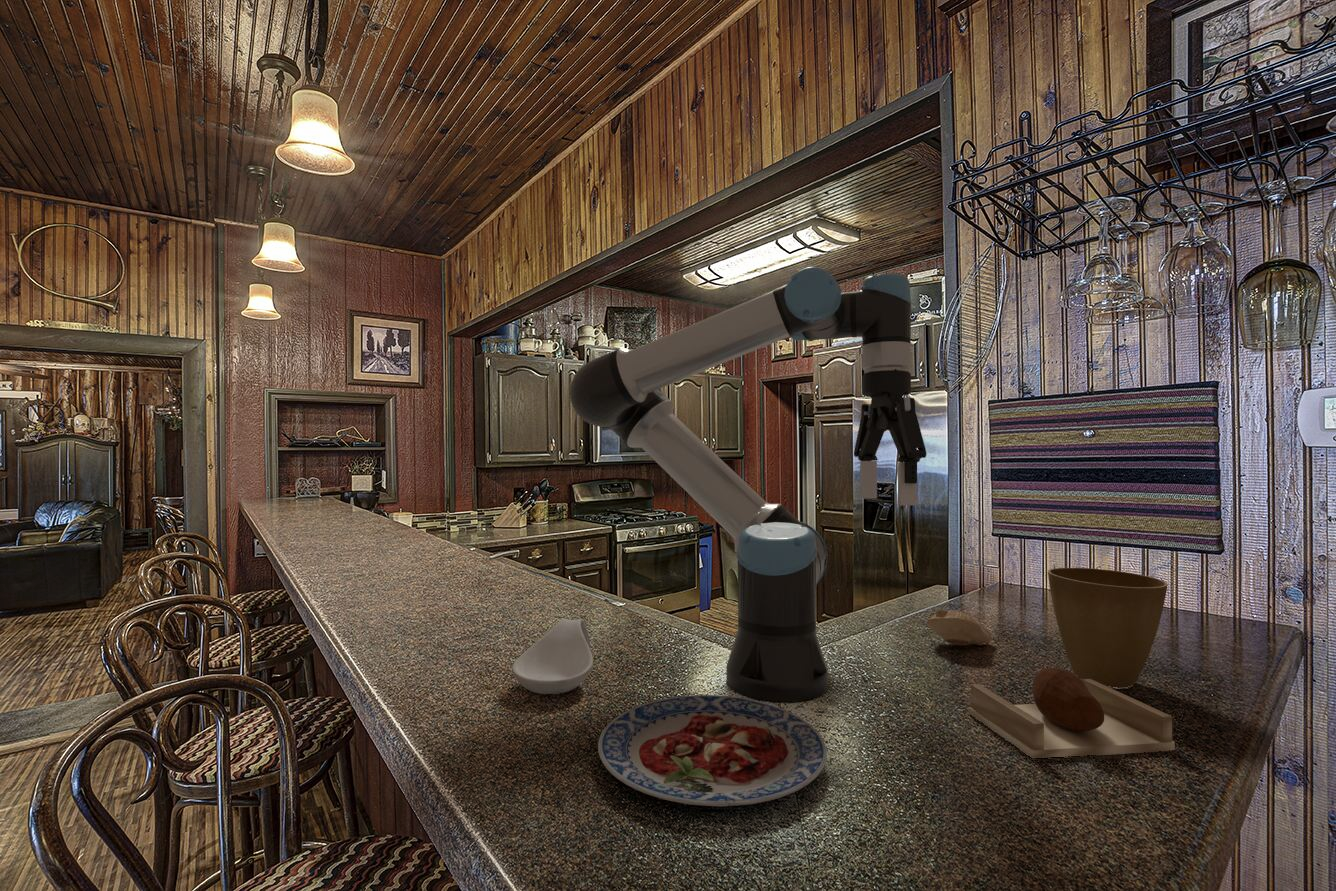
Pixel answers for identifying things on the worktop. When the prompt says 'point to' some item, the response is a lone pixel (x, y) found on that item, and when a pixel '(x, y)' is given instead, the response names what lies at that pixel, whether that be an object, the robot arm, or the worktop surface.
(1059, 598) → the plant pot
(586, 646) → the spoon rest
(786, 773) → the ceramic plate
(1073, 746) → the tray
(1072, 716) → the potato
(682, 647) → the worktop surface
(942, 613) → the pottery oil lamp
